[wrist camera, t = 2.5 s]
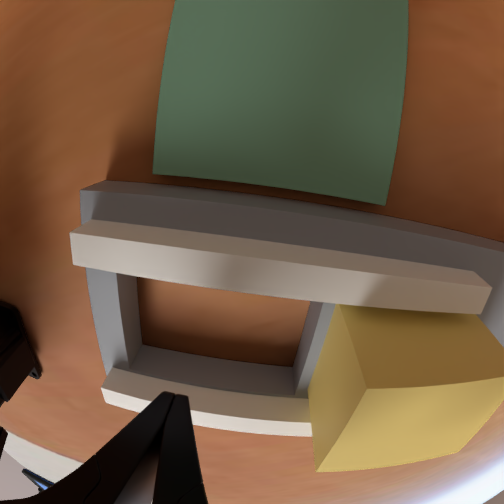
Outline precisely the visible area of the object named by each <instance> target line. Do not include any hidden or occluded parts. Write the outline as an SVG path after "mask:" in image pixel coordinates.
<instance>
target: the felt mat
mask: <svg viewBox="0 0 504 504" xmlns="http://www.w3.org/2000/svg"><path fill="white" fill-rule="evenodd" d="M407 49H408V0H175V4H174V9H173V13H172V18H171V23H170V29H169V34H168V39H167V45H166V51H165V57H164V64H163V71H162V78H161V85H160V93H159V101H158V111H157V120H156V131H155V143H154V158H153V174H159V175H172V176H183V177H194V178H204V179H214V180H223V181H232V182H240V183H248V184H256V185H264V186H271V187H278V188H285V189H292V190H299V191H305V192H311V193H318V194H324V195H330V196H335V197H341V198H347V199H352V200H357V201H363V202H368V203H373V204H378V205H383V206H385V205H386V200H387V196H388V191H389V186H390V181H391V176H392V171H393V166H394V160H395V154H396V149H397V142H398V136H399V129H400V122H401V115H402V107H403V98H404V89H405V78H406V66H407Z"/></svg>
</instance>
